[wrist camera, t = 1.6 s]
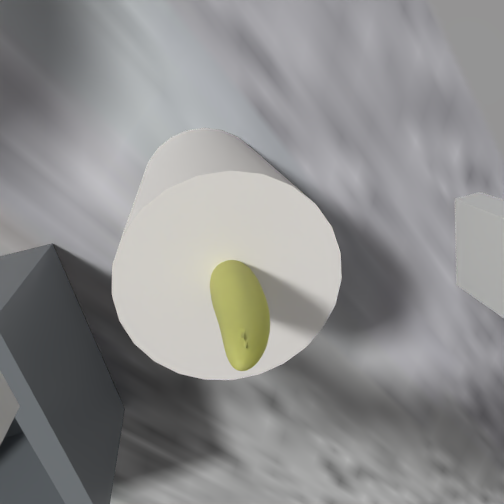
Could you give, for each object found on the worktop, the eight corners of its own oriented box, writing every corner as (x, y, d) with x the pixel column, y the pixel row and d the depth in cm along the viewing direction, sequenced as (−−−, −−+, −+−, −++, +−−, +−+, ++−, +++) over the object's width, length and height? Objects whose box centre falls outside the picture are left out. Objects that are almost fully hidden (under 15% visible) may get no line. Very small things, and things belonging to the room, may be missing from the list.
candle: (189, 275, 23) (210, 575, 9) (115, 171, 20) (-22, 370, 6) (290, 215, 22) (474, 429, 8) (228, 102, 20) (349, 147, 6)
